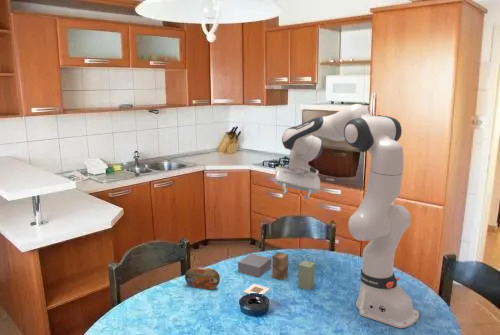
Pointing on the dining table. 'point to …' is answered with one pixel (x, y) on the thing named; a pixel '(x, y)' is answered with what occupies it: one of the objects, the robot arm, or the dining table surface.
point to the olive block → (306, 275)
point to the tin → (202, 278)
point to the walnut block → (280, 266)
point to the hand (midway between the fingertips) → (296, 196)
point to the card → (256, 289)
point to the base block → (254, 265)
